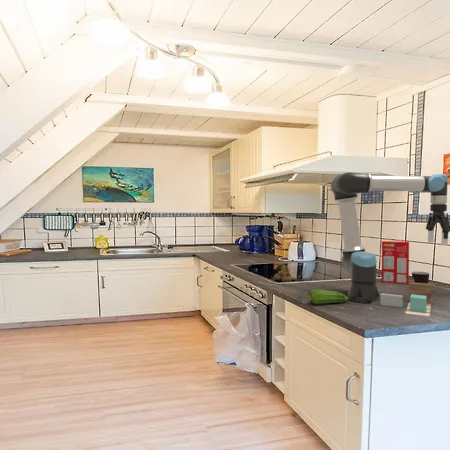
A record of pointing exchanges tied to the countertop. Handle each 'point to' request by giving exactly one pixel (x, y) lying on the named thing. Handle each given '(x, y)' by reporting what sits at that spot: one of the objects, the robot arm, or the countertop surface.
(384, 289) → the countertop surface
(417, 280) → the coffee mug
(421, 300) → the teal block
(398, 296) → the gray rectangular block
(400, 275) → the food packaging
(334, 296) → the vegetable
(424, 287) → the wooden l-shaped stand
